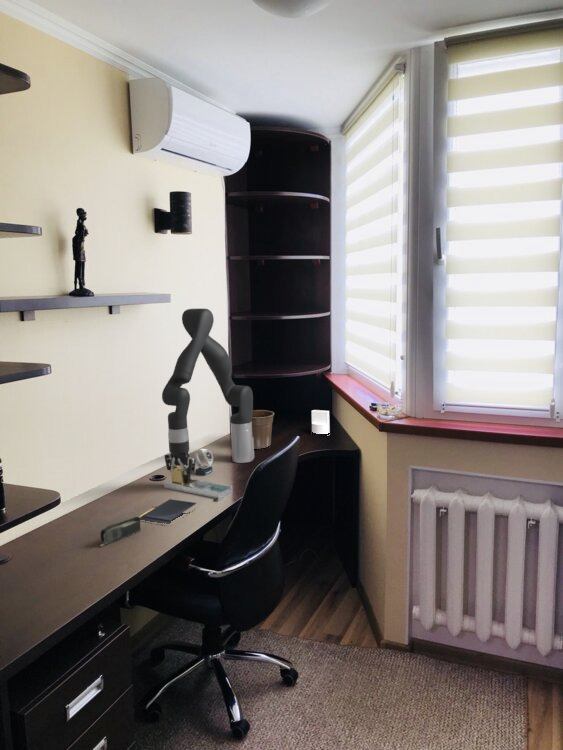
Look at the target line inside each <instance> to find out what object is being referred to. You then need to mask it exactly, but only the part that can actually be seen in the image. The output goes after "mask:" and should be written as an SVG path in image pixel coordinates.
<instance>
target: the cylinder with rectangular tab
mask: <svg viewBox="0 0 563 750" xmlns="http://www.w3.org/2000/svg"><path fill="white" fill-rule="evenodd" d="M330 423H331V422H330V410H322V409H321V410H320V409H313V410H311V433H312V432H313V433H316V434H328V433H330V432H331V431H330V429H331V427H330ZM330 434H331V433H330Z"/></svg>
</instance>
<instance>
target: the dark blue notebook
mask: <svg viewBox="0 0 563 750" xmlns="http://www.w3.org/2000/svg"><path fill="white" fill-rule="evenodd" d="M195 505H197V502H192V501H186V500H179V499H171V498H169V499H168V500H166V501H164V502H162V503H161V504H159V505H158V506H155V507H154V506H153V508H151V509H149V510H148V511H145V513H143V514H141V515H139V516H138V517H140V520H145V521H150V522H157V523H164V524H165V523H166V524H170V523H171V521H173V520H175V519H176V518H178V517H180V516H182V515H183V514H188V513H189V514H191V513H190V512H191V511H189V512H187V513H185V512H186V511H187V510H189V509H191V508H192V507H194V506H195ZM195 509H196V508H194V509H193V510H194V511H195ZM189 514H188V515H189Z"/></svg>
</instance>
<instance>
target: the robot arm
mask: <svg viewBox="0 0 563 750" xmlns="http://www.w3.org/2000/svg"><path fill="white" fill-rule="evenodd" d="M181 322H182V326H183V327H184V329H185V331H186V333H187V334H188V335H189V336H190V338H191V340H190V342H188V344H187V346H186V347H185V348H184V349H183V350H182V352H181V353H180V354H179V356H178V357H177V360H176V363H175V366H174V369H173V373H172V375H171V377H170V378H168V381H167V382H166V385H165V386H164V388H163V391H162V393H161V399H162V403H164V404H165V405H167V406H171V407H172V406H173V407H175V410H174V411H172V412H169V413H168V416H167V425H168V432H167V433H168V434H167V436H168V437H167V438H168V450H169V453H167V454H166V453H165V454H164V456H163V457H164V460H165V466H166V470H167V471H170V472H171V469H173V468H175V467H178V466H181V468H182V470H183V471H184V474H185V475H184V477H185V484H189V483H190V482H191V478H192V477H191V474H193V473H196V470H195V469H196V458H195V457H194V456H193V457H190V454H189V452H190V438H189V437H190V435H189V429H188V413H189V407H190V404H191V403H190V401H191V395H190V392H189V390H188V389H187V388H185V387H182V386H183V385H186V384H189V383H190V382H191V381H192V377H193V374H194V371H195V370H194V369H195V367H196V364H197V361H198V359H199V355H200V353H201V355H202V356H203V358H204V361H205V362H206V364H207V366H208V368H209V370H210V371H211V372H212V374H213V376H214V378H215V380H216V381H217V384H218V386H219V387H220V391H221V393H222V395H223V397H224V400H225V403H227V404H228V406H231V407H237V408H238V412H236V413H234V414H232V415H231V416H230V434H231V435H230V436H231V437H230V438H231V439H230V440H231V456H232V462H234V463H237V464H245V463H250V462H252V461H254V459H255V450H254V438H253V437H252V414H253V410H254V395H253V390H252V388H251V387H250V386H248V385H238V384H237V385H236V384H235V383H234V381H233V380H232V378H231V377H232V376H231V372H232V367H233V364H232V363H233V362H232V360H231V358H230V355H229V354H228V352H227V350H226V349H225V348H224V347H223V346H222V345H221V343H220V342H218V341H217V340H215V339H214V338H213V337H211V336H210V333H211V330H212V329H213V326H214V315H213V313H212V311H211V310H210V309H209V308H189V309H185V310H184V311H183V312H182V316H181ZM186 468H187V470H186Z"/></svg>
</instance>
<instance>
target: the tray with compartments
mask: <svg viewBox="0 0 563 750" xmlns="http://www.w3.org/2000/svg"><path fill="white" fill-rule="evenodd" d="M163 486H164V487H163V488H166V489H170V490H174V491H180V492H185V493H189V494H195V495H199V496H205V497H208V498H213V501H215V500H216V501H215V502H220V501H221V500H224V499H225V498H228V497H229V496H231V495H233V485H230V484H225V483H220V482H213V481H209V480H208V481H207V480H203V479H197V478H193V477H191V483H190V484H188V485H181V484H176V483H172V480H171V481H163Z"/></svg>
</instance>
